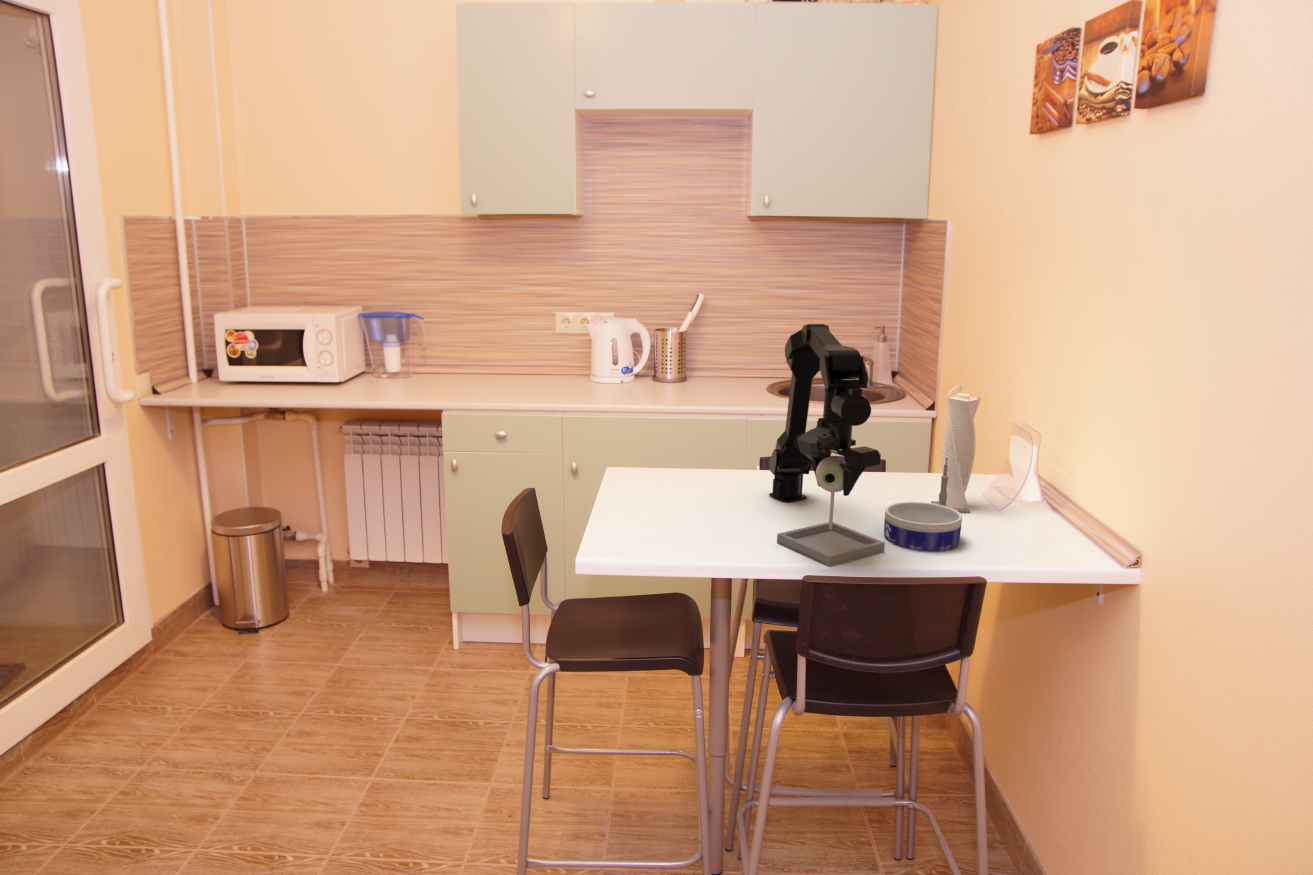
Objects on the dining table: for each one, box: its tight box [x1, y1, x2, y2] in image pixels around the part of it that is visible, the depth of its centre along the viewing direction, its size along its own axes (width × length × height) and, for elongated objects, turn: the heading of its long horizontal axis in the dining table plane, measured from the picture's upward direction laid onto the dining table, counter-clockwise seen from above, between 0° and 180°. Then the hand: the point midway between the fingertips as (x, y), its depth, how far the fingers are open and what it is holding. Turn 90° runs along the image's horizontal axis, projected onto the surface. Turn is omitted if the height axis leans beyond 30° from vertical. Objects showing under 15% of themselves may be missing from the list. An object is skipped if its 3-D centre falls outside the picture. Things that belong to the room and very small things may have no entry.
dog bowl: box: [883, 501, 963, 553], centre depth 188 cm, size 15×15×6 cm
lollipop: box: [815, 455, 846, 530], centre depth 181 cm, size 7×7×15 cm
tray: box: [776, 521, 886, 567], centre depth 183 cm, size 15×15×2 cm
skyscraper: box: [930, 384, 982, 514], centre depth 207 cm, size 8×8×28 cm
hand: (833, 490), depth 181 cm, fingers closed on lollipop, 7 cm apart
